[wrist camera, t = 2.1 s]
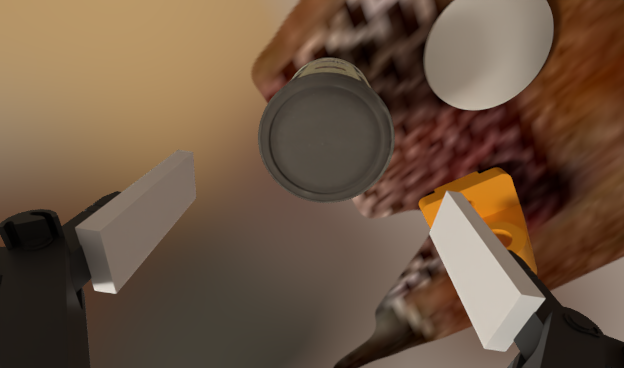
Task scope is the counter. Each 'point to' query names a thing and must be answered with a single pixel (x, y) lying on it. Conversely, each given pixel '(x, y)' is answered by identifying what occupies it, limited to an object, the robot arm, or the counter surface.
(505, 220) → the bracket
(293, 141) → the coffee can
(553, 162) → the counter surface
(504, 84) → the plate
